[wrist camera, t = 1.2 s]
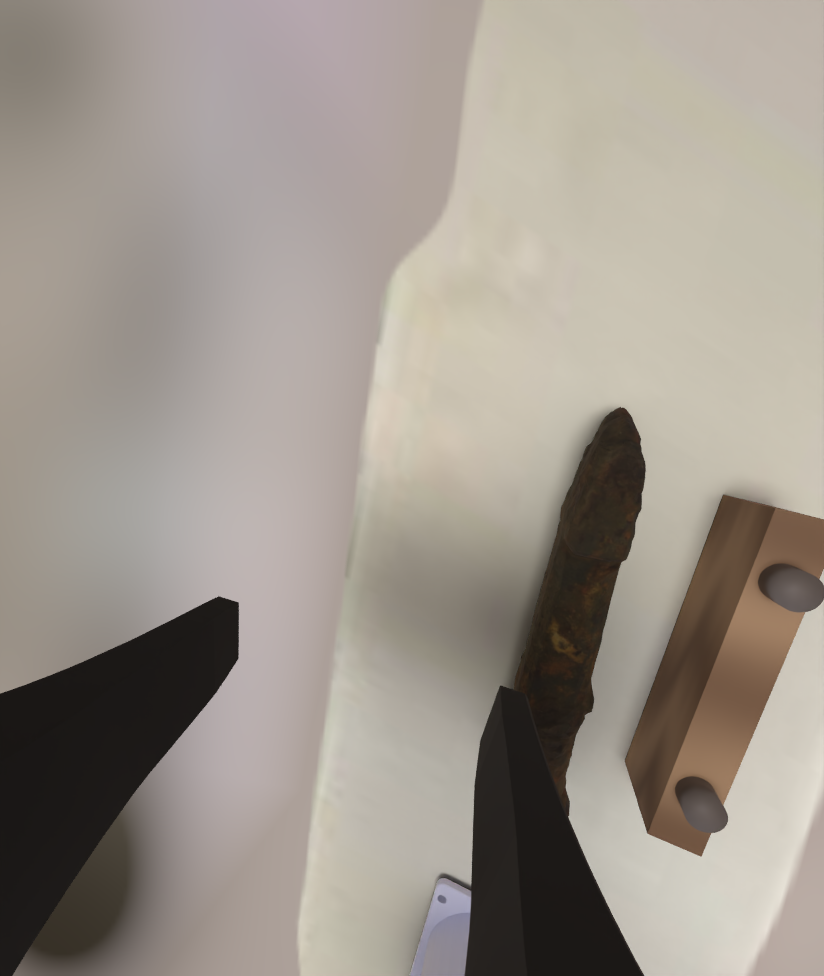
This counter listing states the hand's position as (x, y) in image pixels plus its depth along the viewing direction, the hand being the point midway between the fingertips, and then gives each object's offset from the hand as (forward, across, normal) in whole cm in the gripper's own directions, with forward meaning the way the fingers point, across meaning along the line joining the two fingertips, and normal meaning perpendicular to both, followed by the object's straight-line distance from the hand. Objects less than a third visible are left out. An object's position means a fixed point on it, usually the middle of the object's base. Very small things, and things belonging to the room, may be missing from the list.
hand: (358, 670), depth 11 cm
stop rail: (+10, -13, +3) cm, 17 cm away
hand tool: (+11, -7, +3) cm, 14 cm away
